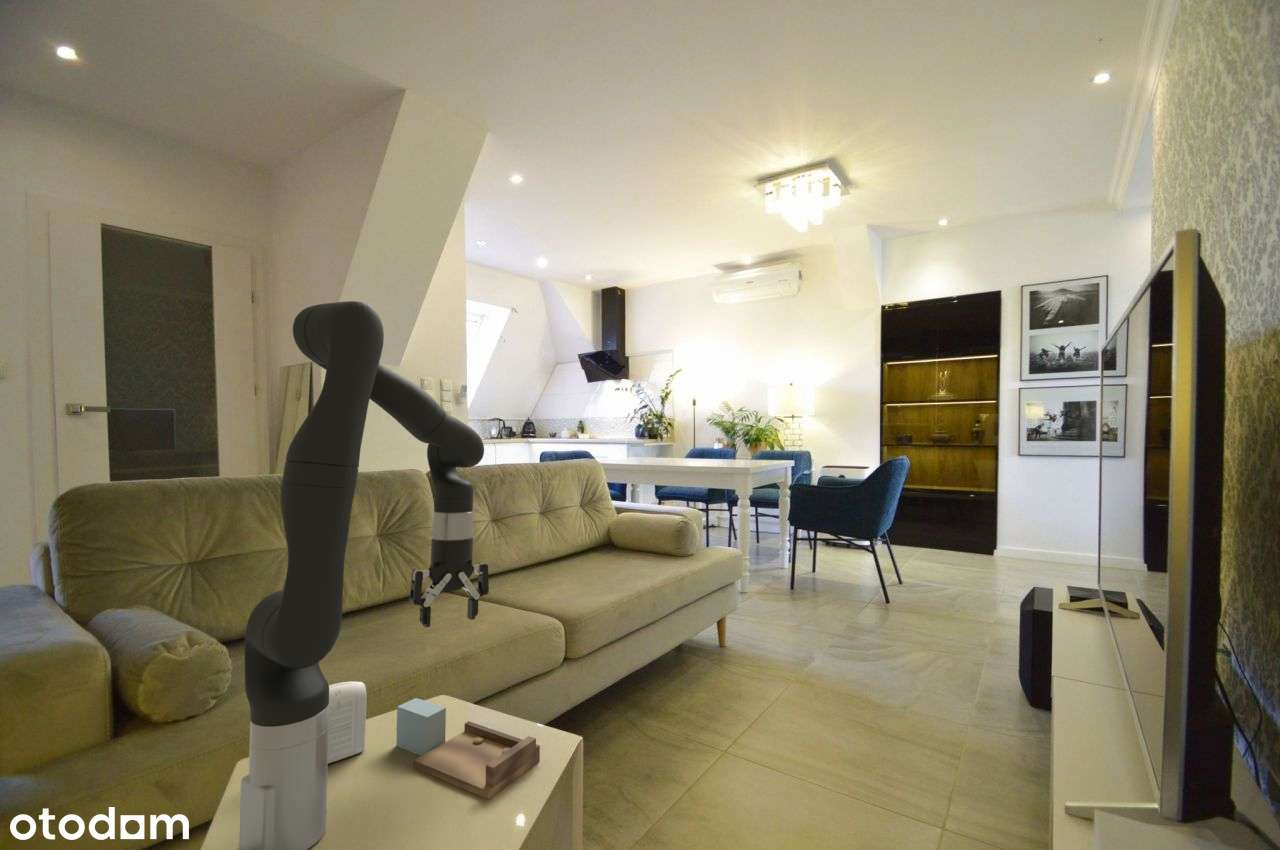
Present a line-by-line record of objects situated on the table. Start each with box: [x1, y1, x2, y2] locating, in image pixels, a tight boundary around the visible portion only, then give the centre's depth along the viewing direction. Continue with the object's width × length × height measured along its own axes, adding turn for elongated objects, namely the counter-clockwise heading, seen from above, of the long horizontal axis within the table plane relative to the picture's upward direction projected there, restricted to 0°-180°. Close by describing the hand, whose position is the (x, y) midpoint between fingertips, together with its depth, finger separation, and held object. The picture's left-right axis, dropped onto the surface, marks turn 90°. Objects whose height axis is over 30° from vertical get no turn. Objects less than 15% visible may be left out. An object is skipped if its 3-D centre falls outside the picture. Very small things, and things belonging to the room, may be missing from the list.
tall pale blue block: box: [395, 697, 447, 757], centre depth 100 cm, size 4×8×7 cm, turn 60°
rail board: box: [413, 720, 541, 800], centre depth 94 cm, size 12×17×4 cm
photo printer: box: [327, 681, 367, 765], centre depth 96 cm, size 10×4×12 cm, turn 134°
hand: (449, 622), depth 105 cm, fingers open, 8 cm apart
